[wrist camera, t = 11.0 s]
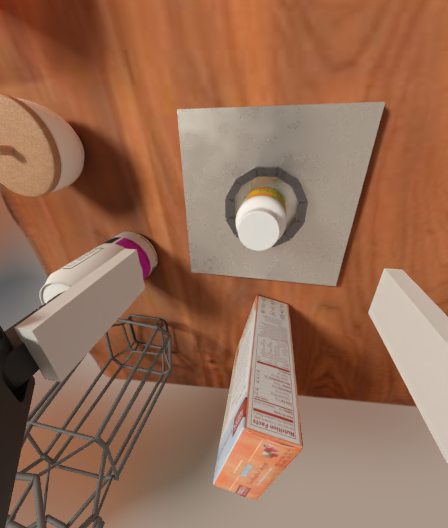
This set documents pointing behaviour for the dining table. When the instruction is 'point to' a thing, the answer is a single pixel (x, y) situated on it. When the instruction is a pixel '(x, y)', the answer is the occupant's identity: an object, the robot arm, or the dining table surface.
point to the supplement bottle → (261, 218)
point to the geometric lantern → (34, 479)
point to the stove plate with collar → (276, 184)
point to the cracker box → (260, 404)
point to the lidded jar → (36, 148)
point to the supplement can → (99, 263)
